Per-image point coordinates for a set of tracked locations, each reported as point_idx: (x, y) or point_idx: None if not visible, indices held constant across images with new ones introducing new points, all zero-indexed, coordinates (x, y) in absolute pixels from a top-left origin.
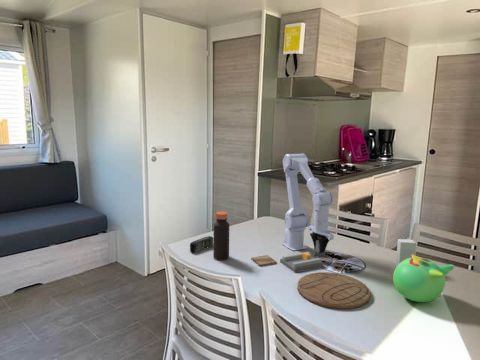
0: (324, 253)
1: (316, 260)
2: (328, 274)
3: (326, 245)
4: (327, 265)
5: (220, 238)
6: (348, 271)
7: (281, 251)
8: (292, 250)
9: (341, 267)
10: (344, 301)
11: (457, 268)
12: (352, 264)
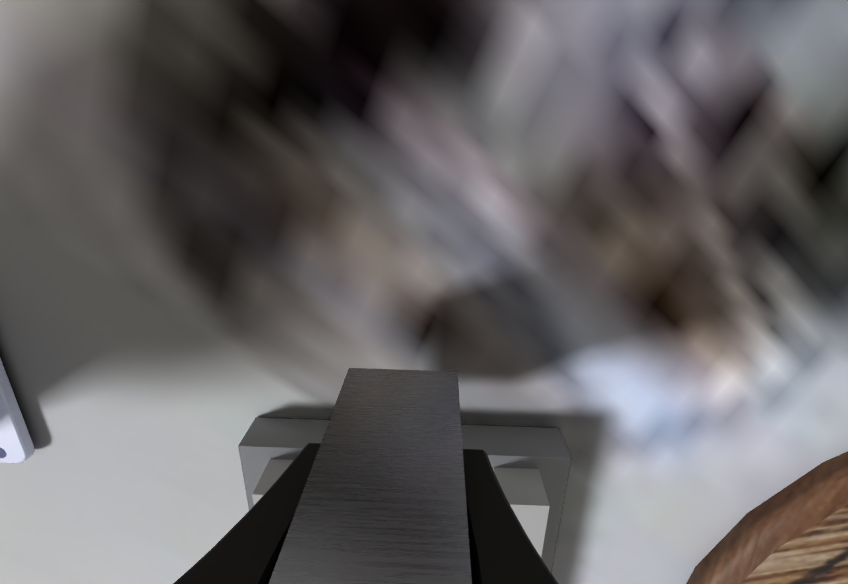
0: (459, 409)
1: (539, 554)
2: (814, 572)
3: (540, 566)
4: (555, 363)
5: None
6: (844, 253)
7: (32, 542)
8: (25, 456)
9: (702, 250)
10: None
11: None
12: (741, 3)
